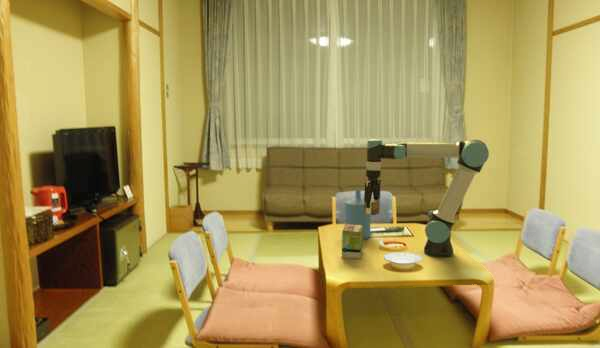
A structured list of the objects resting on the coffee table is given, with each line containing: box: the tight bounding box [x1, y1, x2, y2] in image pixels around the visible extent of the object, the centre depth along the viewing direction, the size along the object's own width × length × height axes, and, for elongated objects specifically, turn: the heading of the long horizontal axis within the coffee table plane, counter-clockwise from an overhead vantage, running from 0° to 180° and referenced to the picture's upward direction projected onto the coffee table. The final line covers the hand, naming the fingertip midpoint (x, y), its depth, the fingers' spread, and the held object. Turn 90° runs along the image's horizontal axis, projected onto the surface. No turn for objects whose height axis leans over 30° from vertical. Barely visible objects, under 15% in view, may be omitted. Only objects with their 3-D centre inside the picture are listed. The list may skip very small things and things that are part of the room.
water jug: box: [344, 189, 372, 240], centre depth 293 cm, size 16×16×28 cm
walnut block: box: [364, 198, 381, 216], centre depth 256 cm, size 6×6×7 cm
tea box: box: [341, 223, 364, 260], centre depth 259 cm, size 15×10×15 cm
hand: (371, 212), depth 257 cm, fingers closed on walnut block, 6 cm apart
